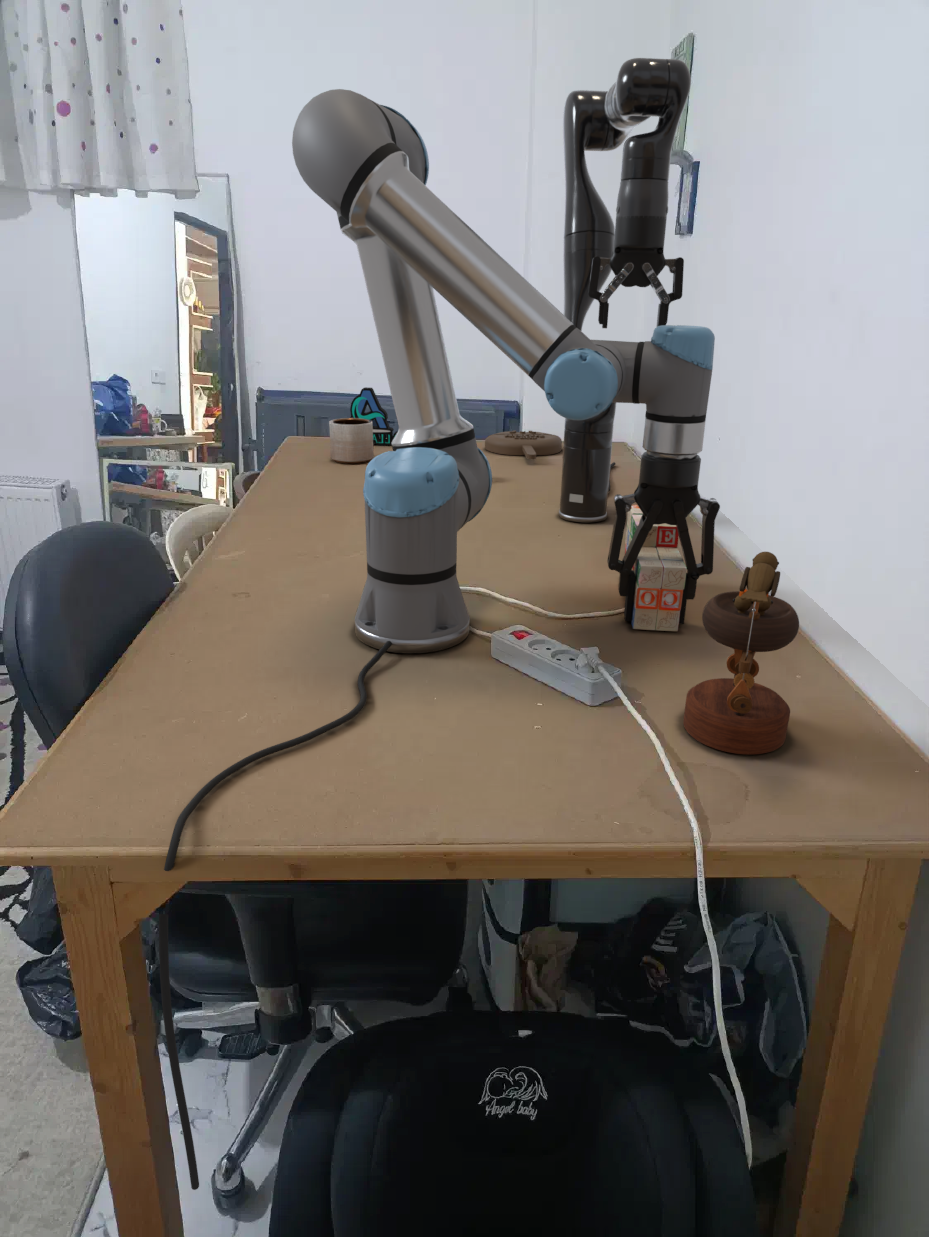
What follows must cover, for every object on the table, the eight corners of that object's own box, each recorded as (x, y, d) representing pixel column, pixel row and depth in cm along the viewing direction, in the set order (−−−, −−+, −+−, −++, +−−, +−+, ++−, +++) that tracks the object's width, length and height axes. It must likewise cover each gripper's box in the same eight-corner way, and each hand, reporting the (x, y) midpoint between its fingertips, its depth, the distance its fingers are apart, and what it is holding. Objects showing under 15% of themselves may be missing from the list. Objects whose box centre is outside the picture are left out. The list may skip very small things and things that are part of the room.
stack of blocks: (679, 633, 114) (689, 545, 109) (632, 630, 114) (640, 543, 110) (661, 580, 134) (669, 504, 129) (621, 578, 134) (628, 502, 130)
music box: (807, 766, 83) (825, 574, 75) (692, 766, 84) (698, 577, 77) (772, 695, 97) (784, 526, 89) (674, 696, 98) (678, 530, 91)
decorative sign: (402, 443, 235) (401, 388, 229) (401, 445, 232) (400, 389, 227) (334, 442, 236) (332, 386, 230) (333, 443, 233) (330, 387, 228)
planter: (327, 456, 217) (325, 418, 214) (369, 454, 220) (368, 417, 217) (334, 465, 208) (332, 425, 204) (377, 463, 211) (376, 424, 207)
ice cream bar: (490, 464, 211) (490, 447, 209) (483, 443, 237) (483, 428, 235) (573, 465, 212) (575, 448, 210) (557, 444, 238) (558, 429, 236)
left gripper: (743, 449, 111) (720, 612, 120) (594, 444, 113) (582, 605, 122) (755, 461, 104) (730, 633, 113) (596, 455, 106) (583, 625, 115)
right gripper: (686, 217, 130) (674, 328, 136) (592, 216, 131) (585, 326, 137) (693, 214, 123) (680, 331, 129) (594, 213, 124) (586, 329, 130)
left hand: (653, 618), depth 117 cm, fingers open, 6 cm apart
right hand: (631, 328), depth 133 cm, fingers open, 8 cm apart
